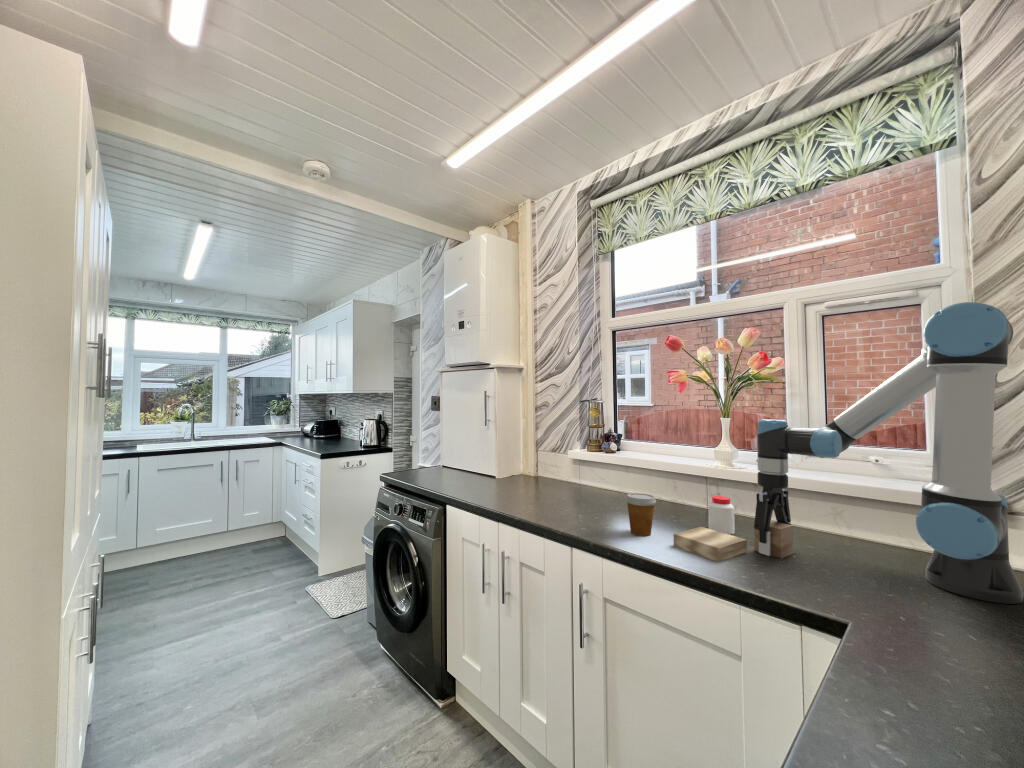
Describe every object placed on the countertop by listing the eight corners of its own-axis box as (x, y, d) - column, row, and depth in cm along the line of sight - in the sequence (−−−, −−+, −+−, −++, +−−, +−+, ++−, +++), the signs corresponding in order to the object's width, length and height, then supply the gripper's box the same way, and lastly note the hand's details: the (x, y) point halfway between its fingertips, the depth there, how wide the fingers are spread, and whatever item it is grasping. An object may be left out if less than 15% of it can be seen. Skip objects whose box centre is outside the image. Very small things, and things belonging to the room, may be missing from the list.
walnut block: (793, 553, 116) (792, 525, 117) (781, 558, 113) (780, 529, 113) (766, 546, 122) (766, 519, 123) (754, 550, 118) (754, 522, 119)
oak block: (746, 553, 117) (746, 539, 117) (719, 563, 109) (718, 548, 110) (701, 539, 129) (701, 526, 129) (673, 547, 121) (673, 533, 121)
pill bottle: (732, 536, 131) (731, 501, 132) (706, 531, 136) (706, 497, 136) (736, 530, 137) (735, 497, 138) (711, 525, 142) (711, 494, 143)
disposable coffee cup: (652, 529, 137) (652, 493, 138) (659, 538, 127) (659, 499, 128) (623, 528, 138) (623, 492, 138) (628, 537, 128) (628, 498, 129)
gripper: (776, 467, 128) (777, 540, 127) (739, 473, 116) (739, 553, 115) (804, 471, 121) (805, 548, 120) (767, 477, 109) (768, 563, 109)
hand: (773, 550), depth 118 cm, fingers open, 9 cm apart
